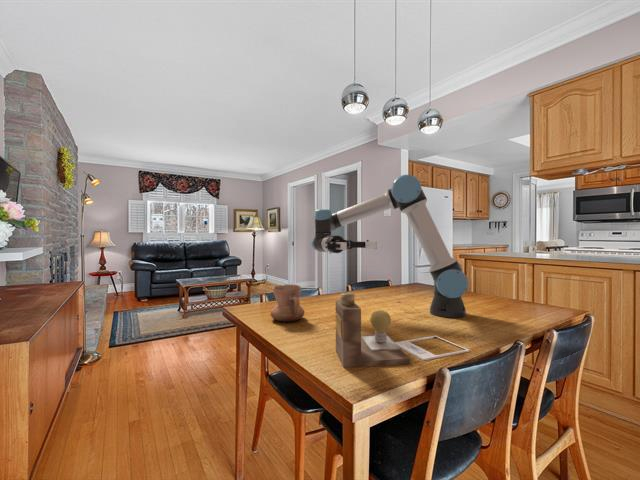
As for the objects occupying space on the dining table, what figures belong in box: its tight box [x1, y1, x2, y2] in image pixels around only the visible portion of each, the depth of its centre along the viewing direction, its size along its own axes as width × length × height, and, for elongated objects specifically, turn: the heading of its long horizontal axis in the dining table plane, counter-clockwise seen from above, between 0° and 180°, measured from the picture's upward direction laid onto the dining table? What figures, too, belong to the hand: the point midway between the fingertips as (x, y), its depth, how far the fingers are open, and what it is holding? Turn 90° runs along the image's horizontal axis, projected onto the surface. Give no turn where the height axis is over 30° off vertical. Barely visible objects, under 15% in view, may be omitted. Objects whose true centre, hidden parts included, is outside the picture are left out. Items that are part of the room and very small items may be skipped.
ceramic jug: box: [269, 283, 305, 323], centre depth 133 cm, size 18×14×14 cm
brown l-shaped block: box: [335, 292, 411, 369], centre depth 97 cm, size 19×22×19 cm
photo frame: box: [394, 335, 471, 362], centre depth 100 cm, size 15×1×18 cm
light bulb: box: [370, 310, 392, 343], centre depth 100 cm, size 6×6×10 cm
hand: (361, 245), depth 117 cm, fingers open, 13 cm apart
